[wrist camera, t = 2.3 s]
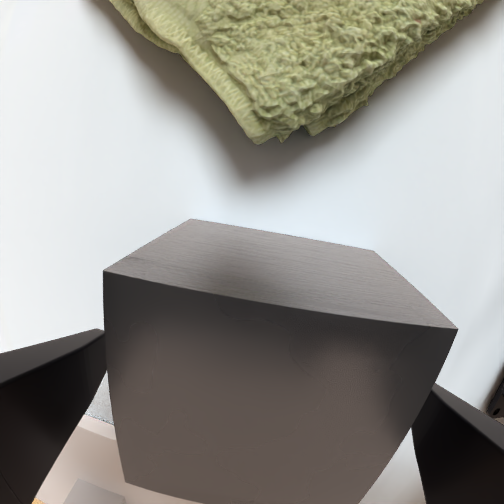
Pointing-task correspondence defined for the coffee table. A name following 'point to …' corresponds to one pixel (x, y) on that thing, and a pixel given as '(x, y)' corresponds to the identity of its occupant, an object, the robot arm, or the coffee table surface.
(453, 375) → the coffee table surface
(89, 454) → the post plate
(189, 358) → the dark grey framed cube
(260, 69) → the washcloth
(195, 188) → the coffee table surface
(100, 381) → the robot arm
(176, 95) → the coffee table surface
